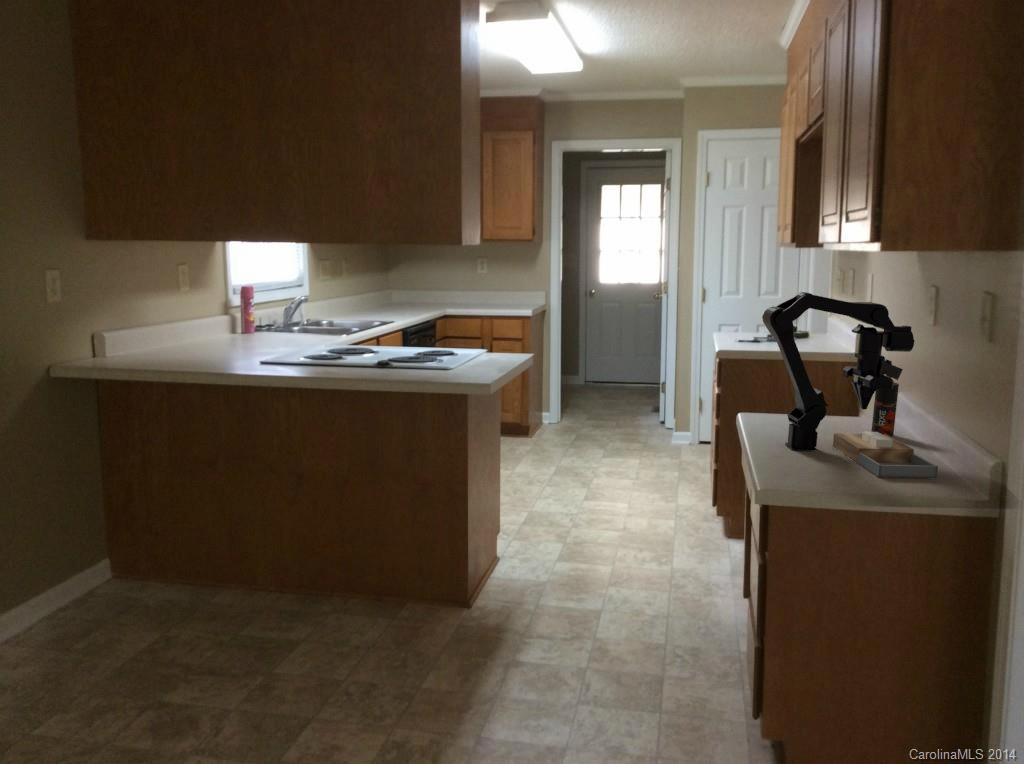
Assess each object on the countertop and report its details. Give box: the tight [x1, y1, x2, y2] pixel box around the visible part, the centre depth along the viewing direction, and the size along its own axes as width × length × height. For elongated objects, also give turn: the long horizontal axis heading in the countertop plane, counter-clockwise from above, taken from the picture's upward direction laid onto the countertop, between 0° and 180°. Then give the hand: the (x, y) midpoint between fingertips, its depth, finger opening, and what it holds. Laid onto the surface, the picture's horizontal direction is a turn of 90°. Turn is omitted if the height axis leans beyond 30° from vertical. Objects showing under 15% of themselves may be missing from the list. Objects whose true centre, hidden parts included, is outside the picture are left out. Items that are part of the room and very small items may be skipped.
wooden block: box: [832, 432, 915, 464], centre depth 227 cm, size 14×16×4 cm
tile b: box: [869, 436, 892, 448], centre depth 222 cm, size 4×4×2 cm
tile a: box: [861, 431, 884, 443], centre depth 227 cm, size 4×4×2 cm
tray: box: [856, 452, 939, 479], centre depth 214 cm, size 14×12×3 cm
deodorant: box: [870, 382, 900, 437], centre depth 251 cm, size 6×6×15 cm
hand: (863, 409), depth 233 cm, fingers closed
